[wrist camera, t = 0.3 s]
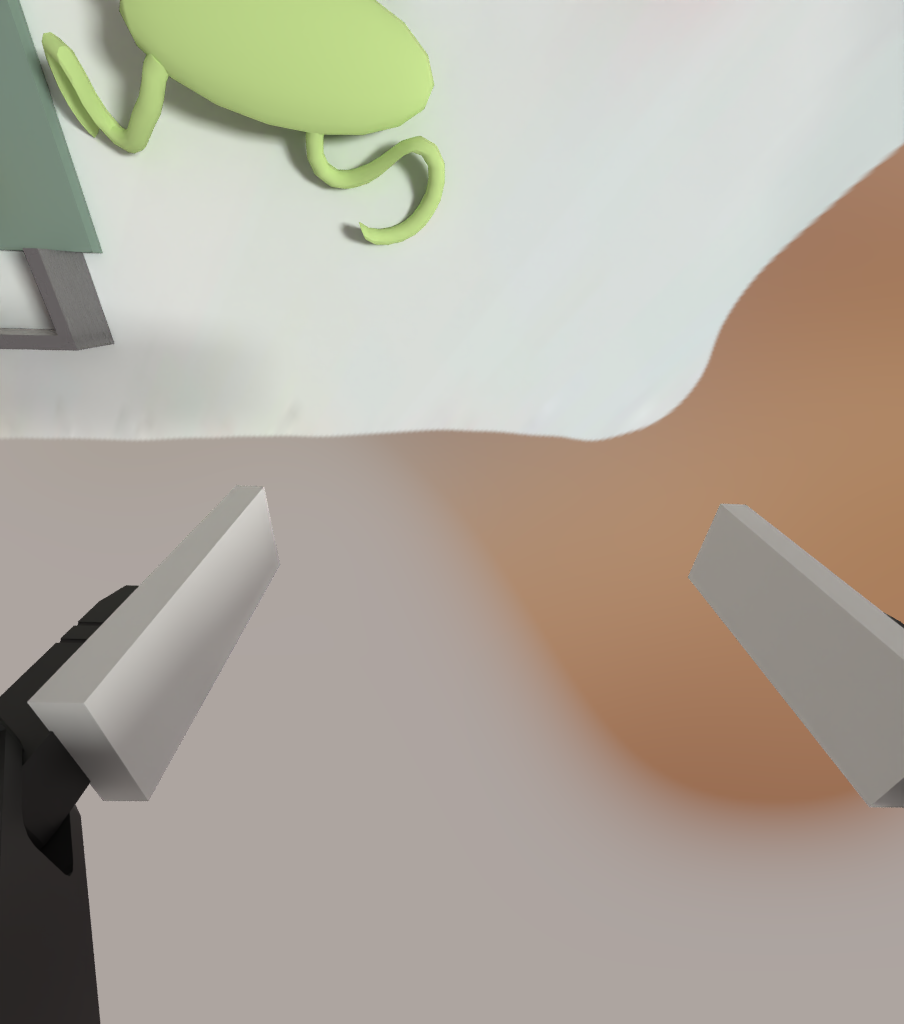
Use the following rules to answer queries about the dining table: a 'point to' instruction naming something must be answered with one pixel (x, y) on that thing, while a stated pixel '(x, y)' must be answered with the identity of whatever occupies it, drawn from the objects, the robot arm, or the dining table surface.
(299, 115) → the figurine
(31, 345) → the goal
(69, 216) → the mat
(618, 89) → the dining table surface
